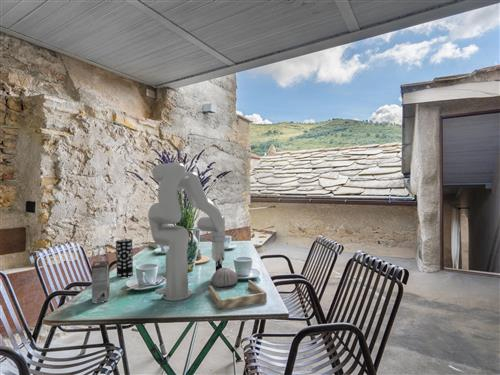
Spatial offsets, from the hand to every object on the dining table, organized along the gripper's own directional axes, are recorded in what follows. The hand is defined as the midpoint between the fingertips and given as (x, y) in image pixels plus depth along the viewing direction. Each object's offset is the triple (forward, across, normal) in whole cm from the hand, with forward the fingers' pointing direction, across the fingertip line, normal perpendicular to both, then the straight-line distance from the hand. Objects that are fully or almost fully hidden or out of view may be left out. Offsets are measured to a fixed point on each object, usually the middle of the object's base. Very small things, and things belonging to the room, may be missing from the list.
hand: (218, 272), depth 156 cm
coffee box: (+3, +8, -56) cm, 57 cm away
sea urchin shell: (+3, +11, 0) cm, 11 cm away
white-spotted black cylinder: (+3, -26, -48) cm, 55 cm away
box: (+3, +30, 0) cm, 30 cm away
